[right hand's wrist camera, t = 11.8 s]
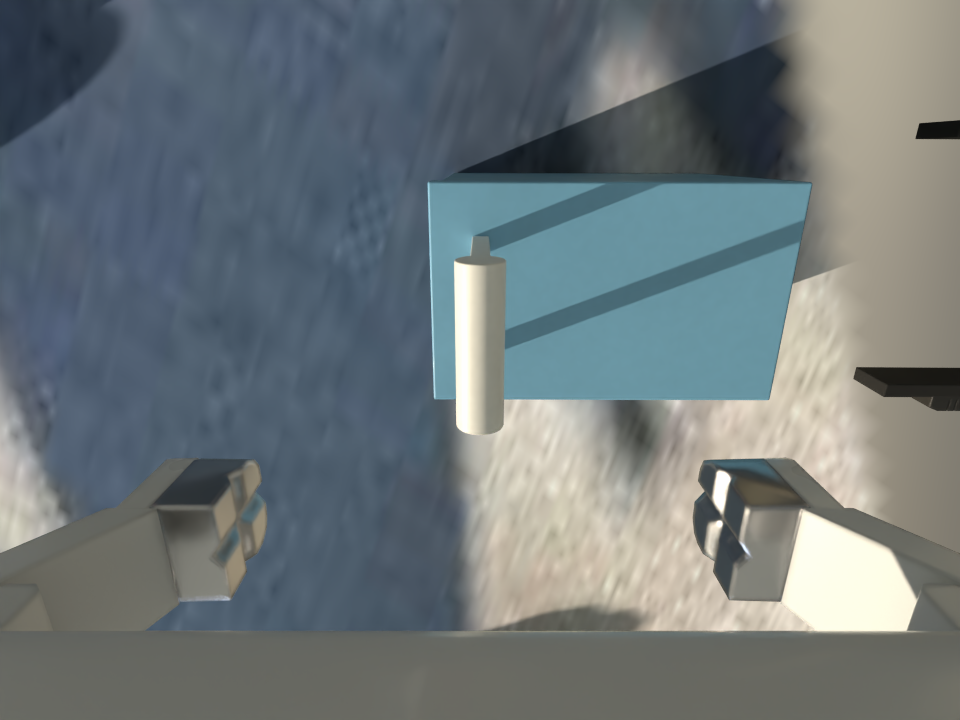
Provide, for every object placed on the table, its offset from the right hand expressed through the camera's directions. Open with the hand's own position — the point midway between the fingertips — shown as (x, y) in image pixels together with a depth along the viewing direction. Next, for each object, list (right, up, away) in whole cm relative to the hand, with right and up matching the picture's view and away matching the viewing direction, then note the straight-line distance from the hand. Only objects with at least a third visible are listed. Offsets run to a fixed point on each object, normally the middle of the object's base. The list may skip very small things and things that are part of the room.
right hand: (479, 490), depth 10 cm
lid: (+6, +6, +15) cm, 17 cm away
